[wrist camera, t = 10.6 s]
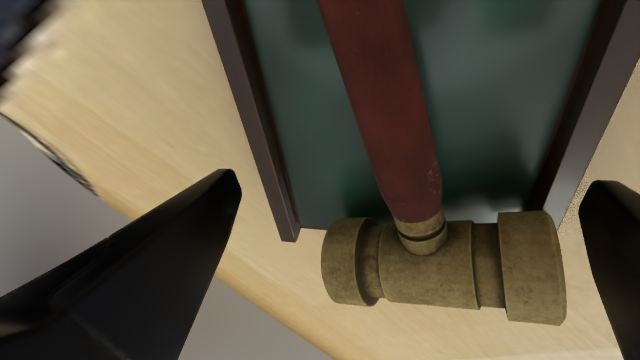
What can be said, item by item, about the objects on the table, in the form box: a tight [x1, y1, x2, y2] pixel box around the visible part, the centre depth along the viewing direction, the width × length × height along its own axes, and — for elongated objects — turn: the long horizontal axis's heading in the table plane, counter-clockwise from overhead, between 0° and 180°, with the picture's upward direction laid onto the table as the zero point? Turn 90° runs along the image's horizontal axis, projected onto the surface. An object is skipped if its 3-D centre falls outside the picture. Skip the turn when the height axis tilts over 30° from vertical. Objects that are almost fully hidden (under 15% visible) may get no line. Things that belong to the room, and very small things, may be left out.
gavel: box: [316, 0, 567, 326], centre depth 12 cm, size 21×5×10 cm
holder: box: [202, 0, 640, 242], centre depth 13 cm, size 14×20×2 cm
